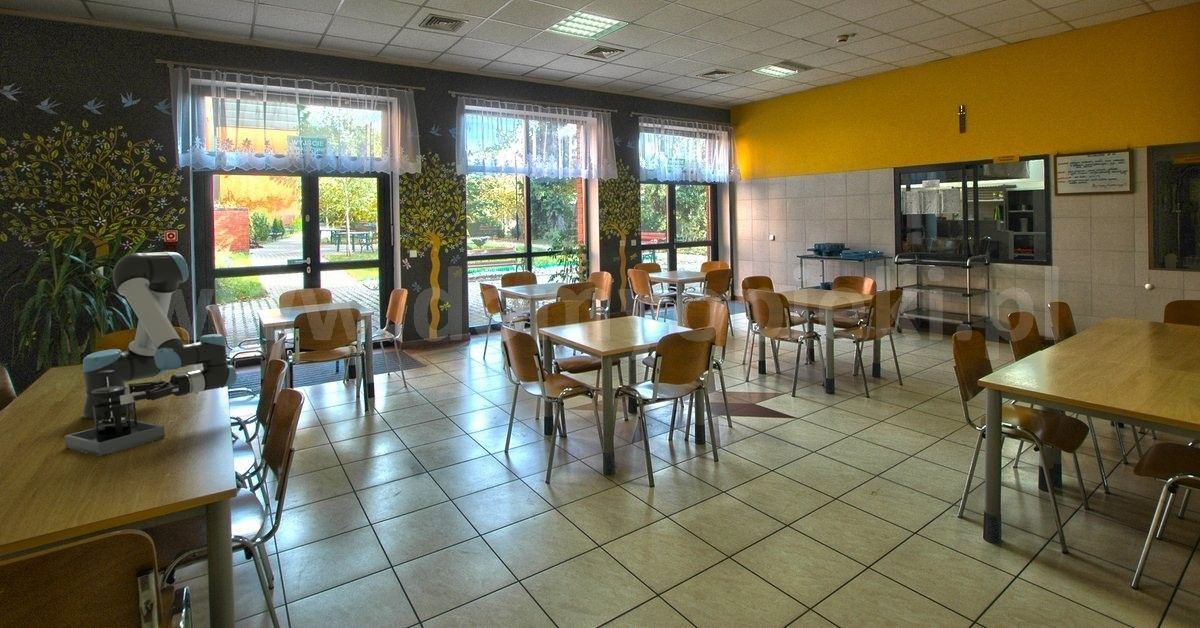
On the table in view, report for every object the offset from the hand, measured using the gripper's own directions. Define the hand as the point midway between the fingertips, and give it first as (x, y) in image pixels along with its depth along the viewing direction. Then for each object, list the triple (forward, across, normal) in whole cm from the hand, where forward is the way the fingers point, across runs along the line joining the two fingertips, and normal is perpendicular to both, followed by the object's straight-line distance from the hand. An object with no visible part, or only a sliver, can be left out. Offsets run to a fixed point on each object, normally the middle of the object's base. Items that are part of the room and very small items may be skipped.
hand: (112, 397), depth 203 cm
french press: (0, 0, -14) cm, 14 cm away
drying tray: (0, 0, -15) cm, 15 cm away
